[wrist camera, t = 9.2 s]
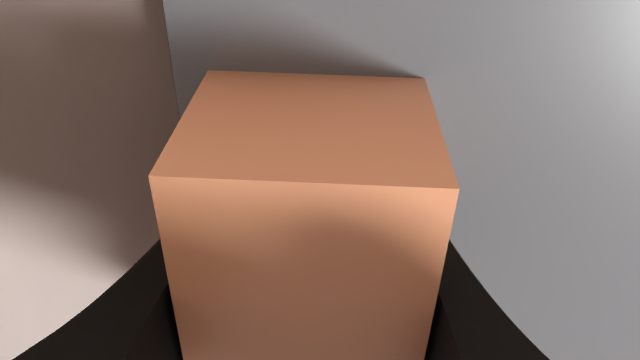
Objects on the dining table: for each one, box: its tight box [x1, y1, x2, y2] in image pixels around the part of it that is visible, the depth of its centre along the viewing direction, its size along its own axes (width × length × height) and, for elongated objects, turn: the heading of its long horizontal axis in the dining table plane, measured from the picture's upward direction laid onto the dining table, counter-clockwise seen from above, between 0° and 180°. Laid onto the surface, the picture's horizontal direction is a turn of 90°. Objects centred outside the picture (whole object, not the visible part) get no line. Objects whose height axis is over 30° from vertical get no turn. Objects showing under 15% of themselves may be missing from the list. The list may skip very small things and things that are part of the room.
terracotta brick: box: [148, 70, 459, 360], centre depth 11 cm, size 4×8×4 cm, turn 179°
